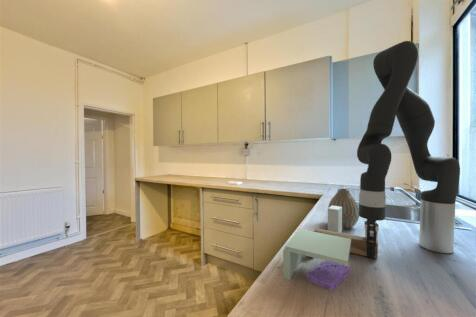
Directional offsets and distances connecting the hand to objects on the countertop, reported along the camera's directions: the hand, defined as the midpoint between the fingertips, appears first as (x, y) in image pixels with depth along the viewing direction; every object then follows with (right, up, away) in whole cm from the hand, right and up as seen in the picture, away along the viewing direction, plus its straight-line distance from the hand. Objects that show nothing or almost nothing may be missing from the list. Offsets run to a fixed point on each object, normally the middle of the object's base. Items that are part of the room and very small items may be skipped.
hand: (370, 253), depth 72 cm
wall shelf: (-21, -1, -10) cm, 23 cm away
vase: (+4, 0, +28) cm, 28 cm away
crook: (-10, 0, 0) cm, 10 cm away
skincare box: (-4, 0, +17) cm, 17 cm away
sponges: (-19, -2, -11) cm, 22 cm away
